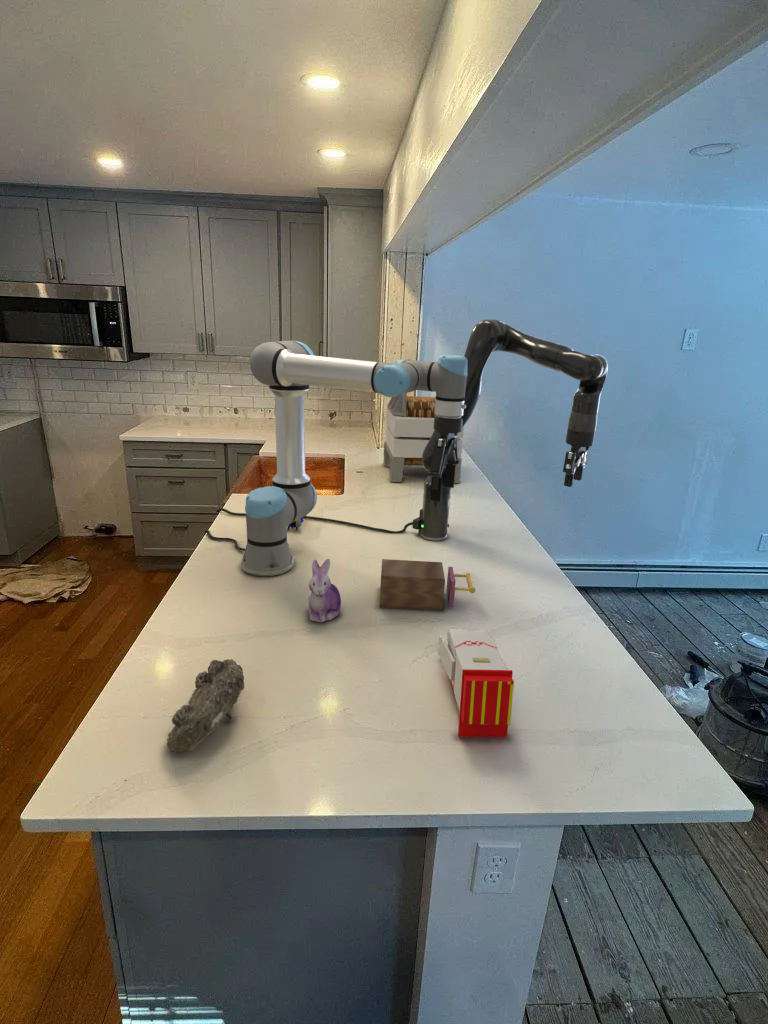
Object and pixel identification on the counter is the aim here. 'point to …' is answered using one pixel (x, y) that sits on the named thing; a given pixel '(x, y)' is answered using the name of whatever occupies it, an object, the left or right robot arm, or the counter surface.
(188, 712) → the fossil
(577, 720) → the counter surface
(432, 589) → the cabinet
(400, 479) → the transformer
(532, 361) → the right robot arm
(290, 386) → the left robot arm
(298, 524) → the figurine character
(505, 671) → the toy
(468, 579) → the drawer
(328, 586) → the figurine
